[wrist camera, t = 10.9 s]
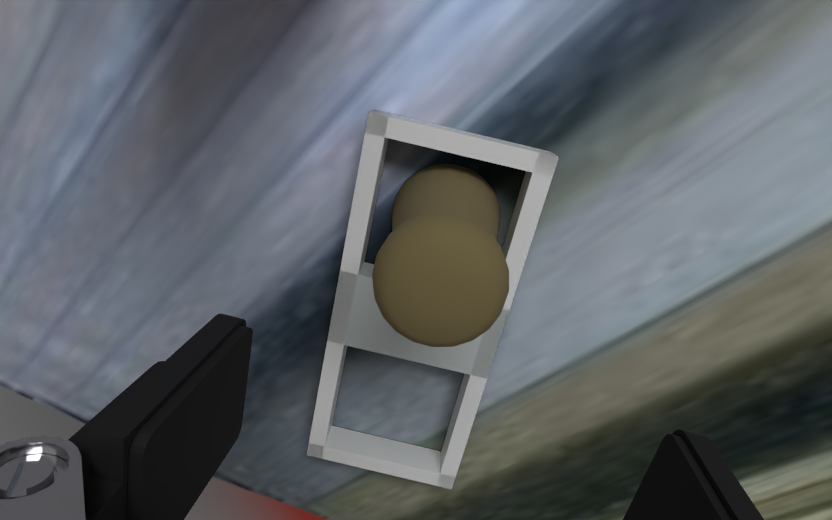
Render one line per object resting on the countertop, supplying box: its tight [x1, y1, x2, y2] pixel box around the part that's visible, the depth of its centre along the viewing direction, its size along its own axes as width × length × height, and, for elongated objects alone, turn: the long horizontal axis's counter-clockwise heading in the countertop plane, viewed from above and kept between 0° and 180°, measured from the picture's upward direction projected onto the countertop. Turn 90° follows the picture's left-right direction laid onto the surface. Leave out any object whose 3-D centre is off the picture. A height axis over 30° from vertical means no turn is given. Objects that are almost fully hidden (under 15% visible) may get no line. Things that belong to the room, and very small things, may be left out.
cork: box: [372, 164, 509, 347], centre depth 22 cm, size 6×6×11 cm
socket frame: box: [307, 110, 559, 489], centre depth 29 cm, size 10×22×2 cm, turn 167°
